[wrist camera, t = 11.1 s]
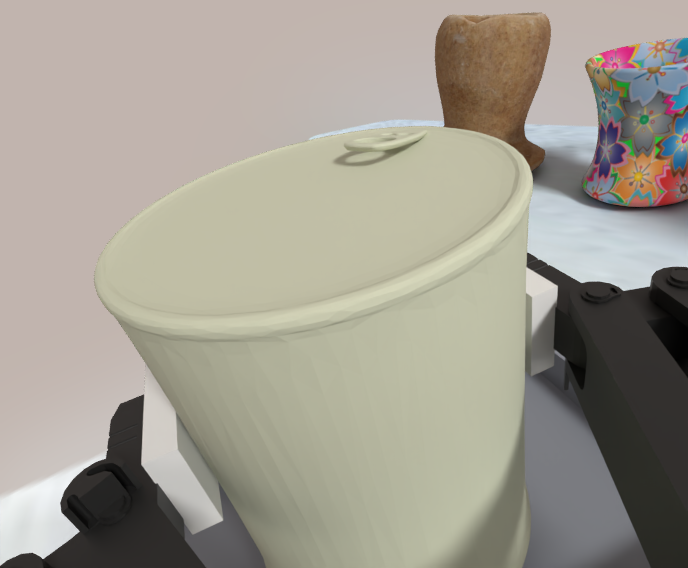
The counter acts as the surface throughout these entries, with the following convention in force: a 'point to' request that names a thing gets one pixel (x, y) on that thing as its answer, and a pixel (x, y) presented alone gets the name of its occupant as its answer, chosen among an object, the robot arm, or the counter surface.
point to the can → (347, 342)
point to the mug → (640, 124)
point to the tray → (542, 485)
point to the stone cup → (492, 74)
